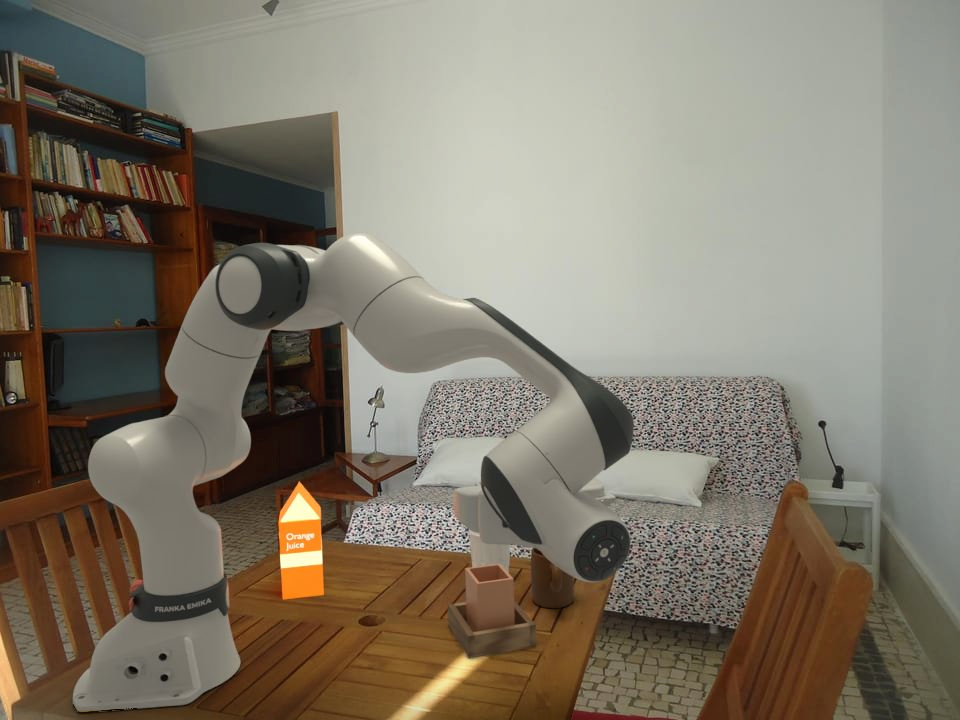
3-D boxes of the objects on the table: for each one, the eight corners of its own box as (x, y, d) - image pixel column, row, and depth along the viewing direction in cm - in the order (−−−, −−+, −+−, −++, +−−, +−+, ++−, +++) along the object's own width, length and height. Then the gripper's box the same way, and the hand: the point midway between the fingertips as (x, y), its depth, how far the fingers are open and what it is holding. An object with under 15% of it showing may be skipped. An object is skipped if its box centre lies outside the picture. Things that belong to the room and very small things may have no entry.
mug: (580, 619, 123) (579, 566, 122) (535, 621, 123) (534, 567, 122) (570, 591, 135) (570, 541, 134) (529, 592, 135) (528, 543, 134)
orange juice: (281, 599, 135) (276, 494, 133) (283, 581, 143) (278, 482, 141) (324, 594, 136) (320, 490, 135) (324, 577, 145) (319, 479, 143)
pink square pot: (478, 645, 114) (477, 583, 113) (466, 626, 121) (465, 568, 120) (514, 639, 116) (513, 578, 115) (501, 621, 122) (499, 563, 121)
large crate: (469, 661, 111) (468, 636, 110) (448, 627, 122) (448, 604, 122) (536, 649, 114) (535, 624, 114) (510, 617, 125) (509, 594, 125)
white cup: (486, 569, 147) (485, 521, 146) (519, 577, 142) (517, 527, 141) (462, 582, 140) (461, 532, 139) (496, 591, 136) (494, 539, 135)
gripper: (621, 478, 93) (577, 456, 107) (469, 494, 88) (442, 469, 101) (622, 525, 94) (578, 498, 107) (470, 545, 88) (443, 514, 101)
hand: (511, 484), depth 104 cm, fingers open, 8 cm apart
